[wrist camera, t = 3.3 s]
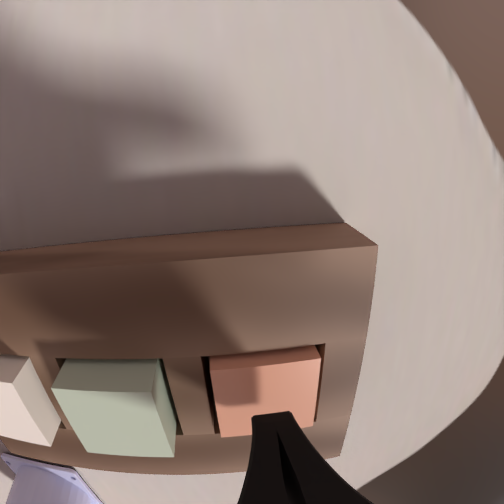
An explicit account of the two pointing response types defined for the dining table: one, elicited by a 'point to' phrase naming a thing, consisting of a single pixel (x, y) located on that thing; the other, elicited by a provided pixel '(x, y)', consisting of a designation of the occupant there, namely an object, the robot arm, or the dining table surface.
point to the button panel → (192, 325)
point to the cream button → (25, 403)
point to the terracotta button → (264, 386)
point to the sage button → (119, 405)
